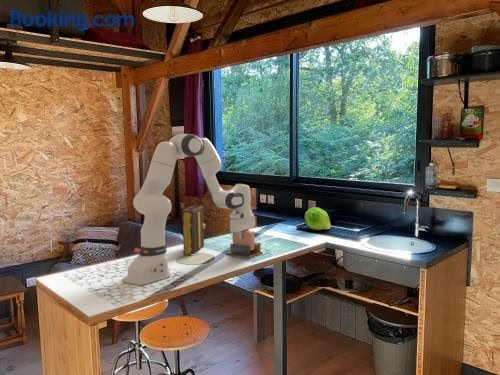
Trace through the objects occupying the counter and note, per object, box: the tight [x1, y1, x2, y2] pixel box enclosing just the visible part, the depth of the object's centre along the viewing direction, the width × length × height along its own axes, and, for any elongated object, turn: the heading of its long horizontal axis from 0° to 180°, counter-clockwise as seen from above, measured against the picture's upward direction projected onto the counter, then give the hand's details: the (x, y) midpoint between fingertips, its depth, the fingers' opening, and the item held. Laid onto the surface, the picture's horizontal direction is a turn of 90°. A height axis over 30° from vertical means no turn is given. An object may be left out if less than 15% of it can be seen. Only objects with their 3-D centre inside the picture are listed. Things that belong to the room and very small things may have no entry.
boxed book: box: [232, 230, 255, 251], centre depth 227 cm, size 4×12×10 cm, turn 58°
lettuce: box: [304, 207, 332, 231], centre depth 290 cm, size 17×20×16 cm
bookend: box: [230, 243, 250, 256], centre depth 225 cm, size 1×12×5 cm, turn 58°
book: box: [182, 205, 206, 256], centre depth 238 cm, size 22×8×25 cm, turn 168°
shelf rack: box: [226, 241, 264, 259], centre depth 229 cm, size 12×16×6 cm
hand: (243, 237), depth 227 cm, fingers closed on boxed book, 3 cm apart
